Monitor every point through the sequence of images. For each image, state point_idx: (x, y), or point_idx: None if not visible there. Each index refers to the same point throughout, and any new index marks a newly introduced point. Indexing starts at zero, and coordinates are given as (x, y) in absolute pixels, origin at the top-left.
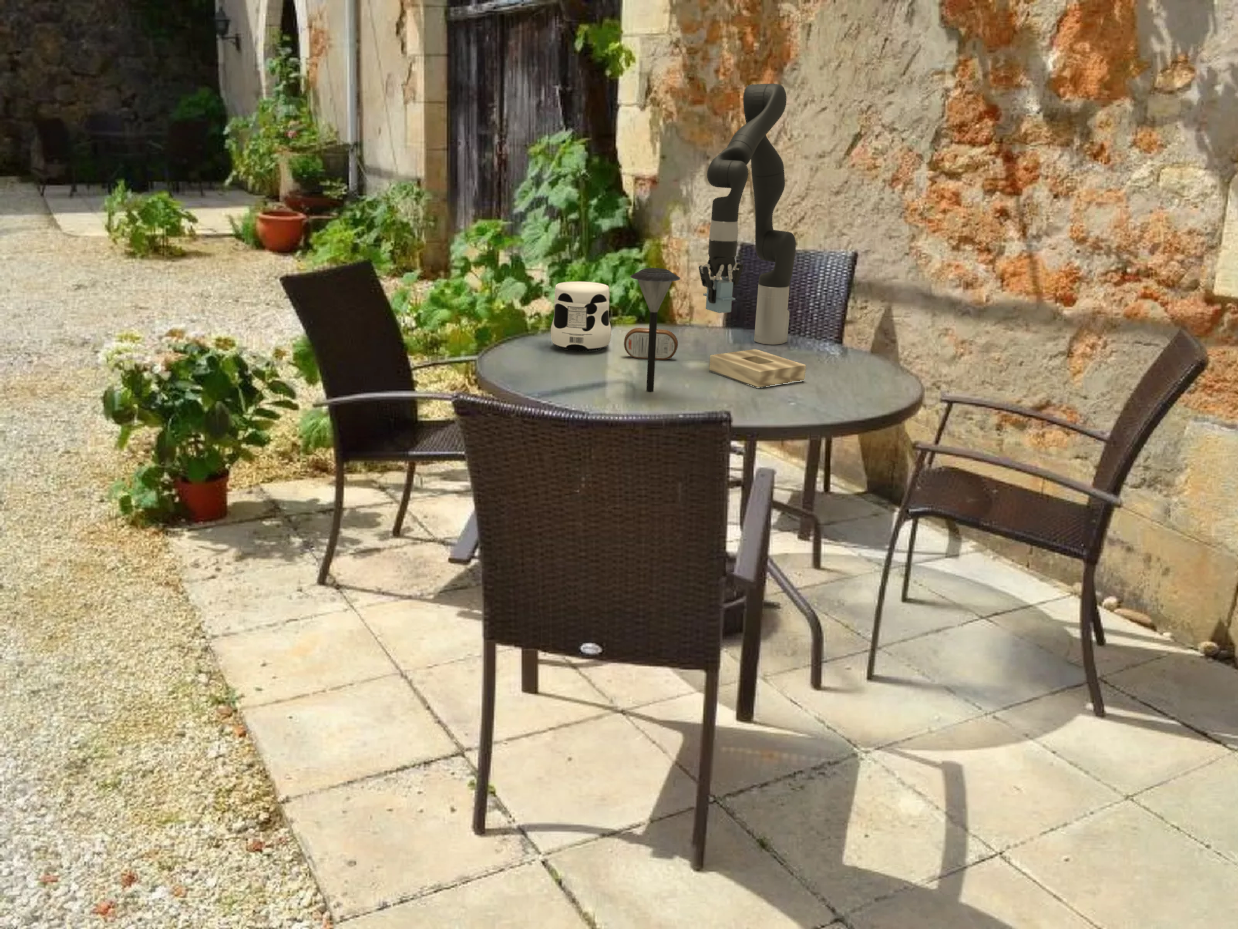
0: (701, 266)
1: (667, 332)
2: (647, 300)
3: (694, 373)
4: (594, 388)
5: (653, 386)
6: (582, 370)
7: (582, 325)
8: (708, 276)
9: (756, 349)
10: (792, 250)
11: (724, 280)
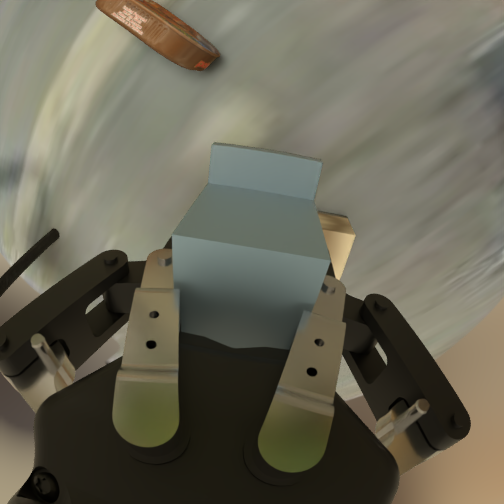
0: (2, 368)
1: (163, 47)
2: None
3: (168, 188)
4: (9, 185)
5: (54, 241)
6: (24, 83)
7: None
8: (82, 353)
9: (353, 238)
10: None
11: (294, 330)
